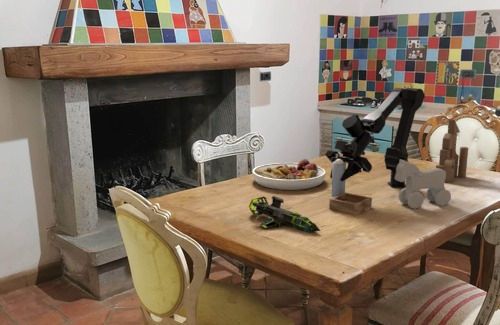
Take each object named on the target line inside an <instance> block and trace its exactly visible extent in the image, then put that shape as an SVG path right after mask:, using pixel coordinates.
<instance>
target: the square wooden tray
mask: <svg viewBox="0 0 500 325" xmlns="http://www.w3.org/2000/svg"><path fill="white" fill-rule="evenodd" d="M372 202H373V199H372V197H371V196H364V195H359V194H354V193H350V192H349V193H348V192H345V193H343V194H340V195H338V196H336V197H331V198H329V204H328V206H329V207H328V209H329V210H332V211H338V212H342V213H347V214H351V215H355V216H358V215H359V214H362V213H364V212H365V211H368V210H369V209H371V208H372V204H373V203H372Z"/></svg>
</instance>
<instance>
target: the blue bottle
mask: <svg viewBox="0 0 500 325" xmlns="http://www.w3.org/2000/svg"><path fill="white" fill-rule="evenodd" d="M331 164H332V166H331V170H332V179H331V198H333V197H336V196H338V195H340V194H343V193H346V180H344V181H341V180H340V179H341V177H342V175H343V174H344V172H345V170H346V169H347V163H346V162H343V160H341V159H337V160H336V161H335V162H331Z"/></svg>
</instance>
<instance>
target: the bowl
mask: <svg viewBox="0 0 500 325" xmlns="http://www.w3.org/2000/svg"><path fill="white" fill-rule="evenodd" d="M252 177H253V180H254V181H255V183H257V184H259V185H260V186H262V187H265V188H269V189H273V190H281V191H299V190H308V189H312V188H315V187H317V186H319V185H320V184H322V183H323V182H324V180H325V178H326V170H325V168H322V167H320V166H317V164H315V163H314V162H312V163H311V162H310V161H309V159H306V158H304V159H301V160H300V161H299V162H298V163H297V162H279V163H278V162H275V163H268V164H262V165H259V166H256V167H254V168H253V169H252Z"/></svg>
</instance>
